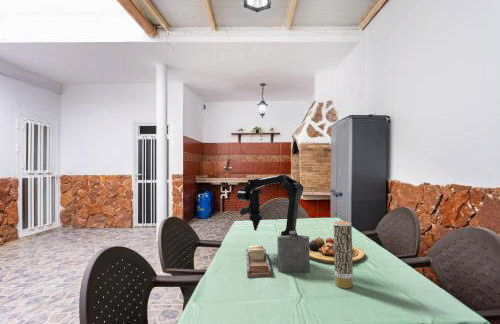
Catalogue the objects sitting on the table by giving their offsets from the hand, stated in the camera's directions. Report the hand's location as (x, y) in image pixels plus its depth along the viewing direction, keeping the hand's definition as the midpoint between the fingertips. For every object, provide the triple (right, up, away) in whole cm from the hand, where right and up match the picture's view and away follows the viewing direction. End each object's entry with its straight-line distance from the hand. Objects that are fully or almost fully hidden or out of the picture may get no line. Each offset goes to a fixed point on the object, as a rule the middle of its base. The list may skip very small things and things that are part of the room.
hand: (255, 230), depth 149 cm
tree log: (+35, -12, -40) cm, 54 cm away
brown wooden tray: (+1, -13, -15) cm, 20 cm away
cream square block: (+1, -12, -9) cm, 15 cm away
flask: (+17, -13, -24) cm, 32 cm away
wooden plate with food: (+42, -13, -3) cm, 44 cm away
